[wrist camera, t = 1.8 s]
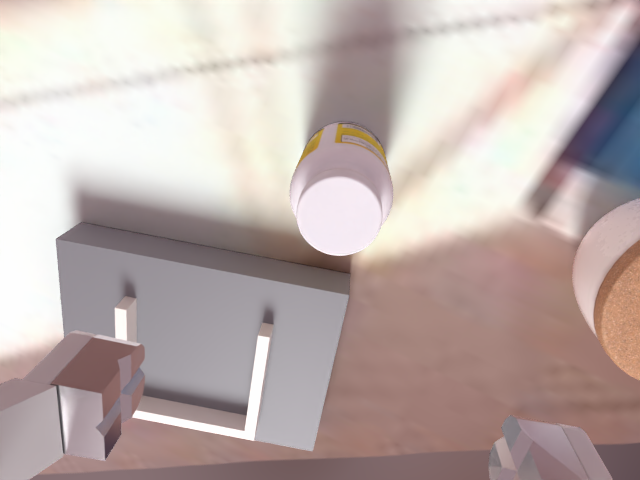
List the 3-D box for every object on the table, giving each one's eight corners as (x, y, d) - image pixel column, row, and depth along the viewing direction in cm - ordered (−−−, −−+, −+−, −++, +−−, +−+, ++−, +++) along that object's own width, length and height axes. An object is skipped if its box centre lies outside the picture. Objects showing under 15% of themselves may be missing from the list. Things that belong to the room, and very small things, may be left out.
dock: (90, 378, 39) (58, 418, 35) (81, 222, 33) (41, 248, 29) (315, 422, 39) (310, 467, 35) (350, 273, 33) (348, 307, 28)
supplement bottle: (315, 209, 31) (297, 279, 22) (293, 132, 29) (263, 174, 20) (393, 191, 30) (408, 257, 21) (376, 110, 28) (384, 144, 19)
